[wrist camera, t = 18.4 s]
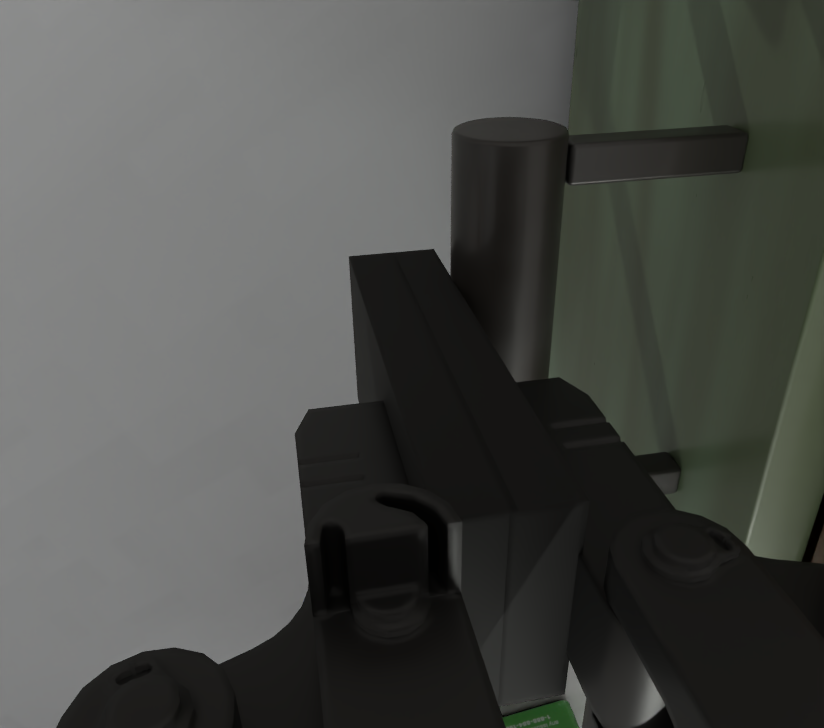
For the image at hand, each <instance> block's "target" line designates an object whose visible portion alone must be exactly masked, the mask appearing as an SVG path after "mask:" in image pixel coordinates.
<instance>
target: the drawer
mask: <svg viewBox="0 0 824 728" xmlns="http://www.w3.org/2000/svg"><path fill="white" fill-rule="evenodd" d="M451 279H452V281H453V282H454V283H455V285H456V286H457V288H458V289H459V291H460V293H461V294H462V296H463V297H464V299H465V301H466V302H467V304H468V306H469V307H470V309H471V310H472V312H473V314H474V315H475V317H476V318H477V320H478V322H479V323H480V325H481V327H482V328H483V330H484V331H485V333H486V335H487V336H488V338H489V339H490V341H491V343H492V344H493V346H494V348H495V349H496V351H497V352H498V354H499V356H500V357H501V359H502V360H503V362H504V364H505V365H506V367H507V369H508V370H509V372H510V373H511V375H512V377H513V378H514V380H515V381H516V382H523V381H531V380H539V379H548V378H556V377H560V378H562V379H563V380H565V381H567V382H568V383H570V384H572V385H573V386H575V387H576V388H578V389H580V390H581V391H583V392H585V393H586V394H588V395H589V396H590V397H591V399H592V400H593V401H594V403H595V404H596V405H597V407H598V408H599V409H600V411H601V412H602V413H603V415H604V416H605V417H606V422H610V424H611V425H612V426H613V428H614V429H615V430H616V432H617V433H618V434H619V436H620V440H621V442H625V443H626V445H627V446H628V447H629V449H630V450H631V451H632V453H633V454H634V455H635V457H636V458H637V459H638V460H639V462H640V463H641V464H642V466H643V467H644V468H645V470H646V471H647V472H648V474H649V475H650V476H651V478H652V479H653V480H654V481H655V483H656V484H657V485H658V487H659V488H660V489H661V491H662V492H663V493H664V495H665V496H666V497H667V499H668V500H669V501H670V502H671V504H672V505H673V506H674V508H675V509H676V510H680V511H684V512H688V513H692V514H697V515H701V516H703V517H705V518H707V519H709V520H711V521H713V522H715V523H718V524H720V525H722V526H724V527H726V528H727V529H728V530H729V531H731V532H732V533H733V534H734V535H735V536H736V537H737V538H739V539H740V540H741V541H742V542H743V543H744V544H745V545H746V546H747V547H748V548H749V549H750V550H751V552H752V553H753V554H754V555H755V556H758V557H764V558H770V559H779V560H790V561H801V562H811V559H812V557H813V554H814V551H815V548H816V545H817V542H818V539H819V536H820V533H821V530H822V527H823V524H824V0H579V5H578V17H577V29H576V41H575V53H574V65H573V77H572V89H571V101H570V113H569V125H568V130H567V128H566V127H564V126H562V125H560V124H557V123H554V122H551V121H546V120H541V119H533V118H521V117H498V118H485V119H478V120H472V121H468V122H465V123H462V124H460V125H458V126H456V127H455V128H454V129H453V132H452V164H451Z"/></svg>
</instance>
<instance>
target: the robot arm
mask: <svg viewBox="0 0 824 728" xmlns="http://www.w3.org/2000/svg"><path fill="white" fill-rule="evenodd" d="M349 264H350V280H351V296H352V312H353V327H354V343H355V359H356V375H357V390H358V400H359V404H351V405H342V406H334V407H325V408H317V409H309V410H308V412H307V413H306V415H305V417H304V419H303V420H302V422H301V424H300V426H299V428H298V429H297V431H296V433H295V439H296V449H297V459H298V469H299V478H300V488H301V498H302V508H303V518H304V528H305V537H306V538H305V544H304V547H305V556H306V564H307V572H308V581H309V585H308V592H307V594H306V597H305V599H304V602H303V604H302V607H301V608H300V609H299V611H298V612H297V613H296V615H295V616H294V618H293V619H292V620H291V622H290V623H289V624H288V625H286V626H285V627H284V628H283V629H282V630H281V631H280V632H278V633H277V634H276V635H275V636H274V637H272V638H271V639H269V640H267V641H265V642H264V643H262V644H260V645H259V646H257V647H255V648H253V649H251V650H249V651H247V652H245V653H243V654H240V655H238V656H236V657H234V658H232V659H230V660H227V661H225V662H223V663H221V664H219V665H218V664H217V663H215V662H214V661H213V660H211V659H210V658H209V657H207V656H206V655H205V654H203V653H199V652H194V651H189V650H184V649H179V648H168V649H160V650H153V651H145V652H141V653H139V654H137V655H135V656H132V657H130V658H128V659H125V660H123V661H121V662H118V663H116V664H114V665H111V666H110V667H109V668H107V669H106V670H105V671H104V672H102V673H101V674H100V675H99V676H97V677H96V678H95V679H93V680H92V681H91V682H90V683H88V684H87V685H86V686H85V687H83V688H82V690H81V691H80V692H79V694H78V695H77V696H76V698H75V699H74V701H73V702H72V703H71V705H70V706H69V708H68V709H67V710H66V712H65V713H64V715H63V716H62V717H61V719H60V721H59V723H58V725H57V727H56V728H506V727H505V724H504V721H503V718H502V714H501V711H500V708H499V707H500V706H505V705H510V704H515V703H521V702H526V701H531V700H536V699H541V698H547V697H552V696H557V695H562V694H565V688H566V680H567V672H568V664H569V661H570V663H571V665H572V667H573V669H574V672H575V674H576V676H577V678H578V680H579V683H580V685H581V687H582V689H583V691H584V694H585V696H586V704H585V711H584V717H583V724H582V728H824V564H822V563H812V562H801V561H790V560H779V559H770V558H764V557H758V556H755V555H754V554H753V553H752V552H751V550H750V549H749V548H748V547H747V546H746V545H745V544H744V543H743V542H742V541H741V540H740V539H739V538H737V537H736V536H735V535H734V534H733V533H732V532H731V531H729V530H728V529H727V528H726V527H724V526H722V525H720V524H718V523H715V522H713V521H711V520H709V519H707V518H705V517H703V516H701V515H697V514H692V513H688V512H684V511H680V510H676V509H675V508H674V506H673V505H672V504H671V502H670V501H669V500H668V499H667V497H666V496H665V495H664V493H663V492H662V491H661V489H660V488H659V487H658V485H657V484H656V483H655V481H654V480H653V479H652V478H651V476H650V475H649V474H648V472H647V471H646V470H645V468H644V467H643V466H642V464H641V463H640V462H639V460H638V459H637V458H636V457H635V455H634V454H633V453H632V451H631V450H630V449H629V447H628V446H627V445H626V443H625V442H621V440H620V436H619V434H618V433H617V432H616V430H615V429H614V428H613V426H612V425H611V424H610V422H606V417H605V416H604V415H603V413H602V412H601V411H600V409H599V408H598V407H597V405H596V404H595V403H594V401H593V400H592V399H591V397H590V396H589V395H588V394H586V393H585V392H583V391H581V390H580V389H578V388H576V387H575V386H573V385H572V384H570V383H568V382H567V381H565V380H563V379H562V378H560V377H556V378H548V379H539V380H531V381H523V382H516V381H515V380H514V378H513V377H512V375H511V373H510V372H509V370H508V369H507V367H506V365H505V364H504V362H503V360H502V359H501V357H500V356H499V354H498V352H497V351H496V349H495V348H494V346H493V344H492V343H491V341H490V339H489V338H488V336H487V335H486V333H485V331H484V330H483V328H482V327H481V325H480V323H479V322H478V320H477V318H476V317H475V315H474V314H473V312H472V310H471V309H470V307H469V306H468V304H467V302H466V301H465V299H464V297H463V296H462V294H461V293H460V291H459V289H458V288H457V286H456V285H455V283H454V282H453V281H452V279H451V276H450V275H449V273H448V272H447V270H446V268H445V267H444V265H443V264H442V262H441V260H440V259H439V257H438V255H437V254H436V252H435V251H434V249H430V250H418V251H407V252H396V253H383V254H372V255H360V256H349Z"/></svg>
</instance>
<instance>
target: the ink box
mask: <svg viewBox="0 0 824 728" xmlns="http://www.w3.org/2000/svg"><path fill="white" fill-rule="evenodd" d="M502 718H503V721H504V724H505V727H506V728H579V726H578V724H577V721H576V719H575V716H574V714H573V711H572V709H571V707H570V704H569V703H568V701H566V700H561V701H557V702H554V703H550V704H547V705H543V706H540V707H536V708H533V709H530V710H526V711H522V712H519V713H516V714H512V715H509V716H505V717H502Z"/></svg>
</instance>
